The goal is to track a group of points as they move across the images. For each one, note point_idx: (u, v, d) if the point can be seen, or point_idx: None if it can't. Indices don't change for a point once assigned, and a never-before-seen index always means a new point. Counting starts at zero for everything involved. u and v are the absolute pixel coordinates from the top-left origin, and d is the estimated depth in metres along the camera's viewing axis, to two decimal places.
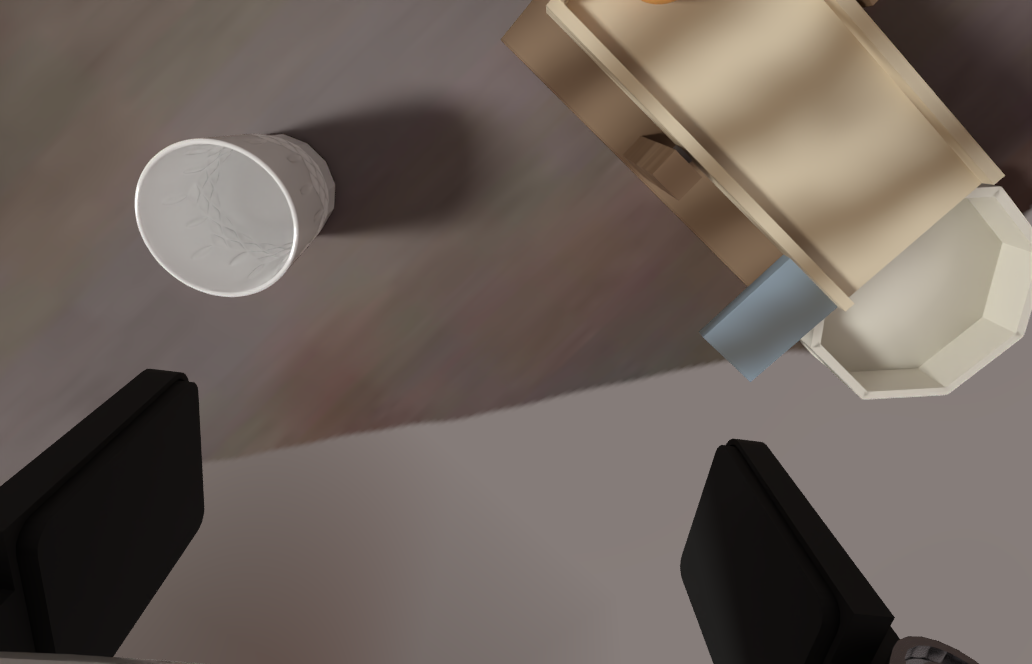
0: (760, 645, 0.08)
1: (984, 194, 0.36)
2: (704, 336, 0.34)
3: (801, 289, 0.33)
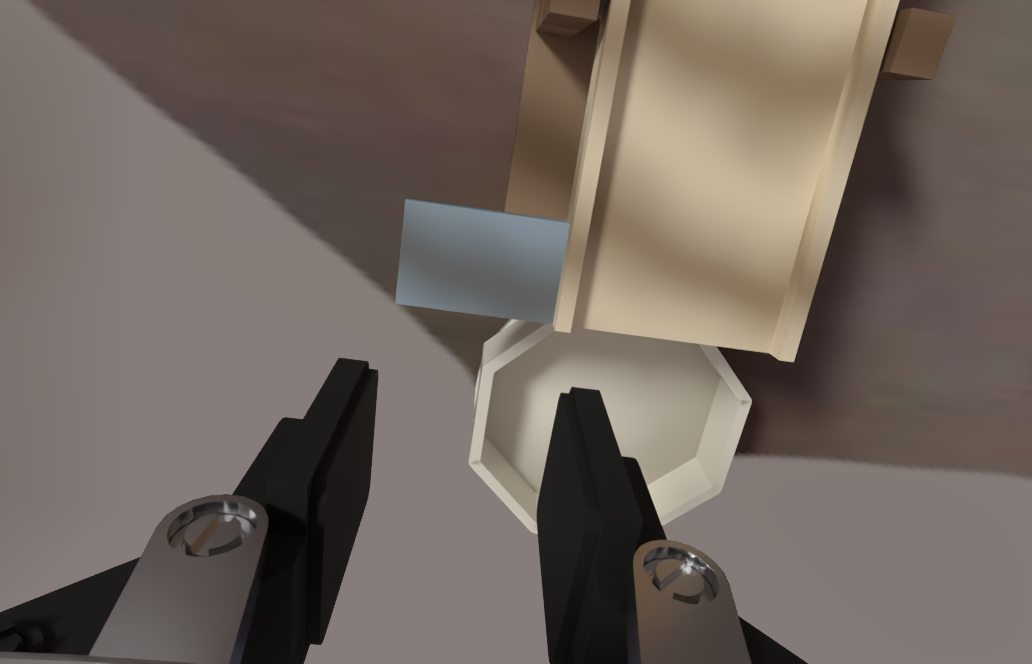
0: (561, 562, 0.09)
1: (736, 392, 0.31)
2: (407, 200, 0.22)
3: (544, 266, 0.23)
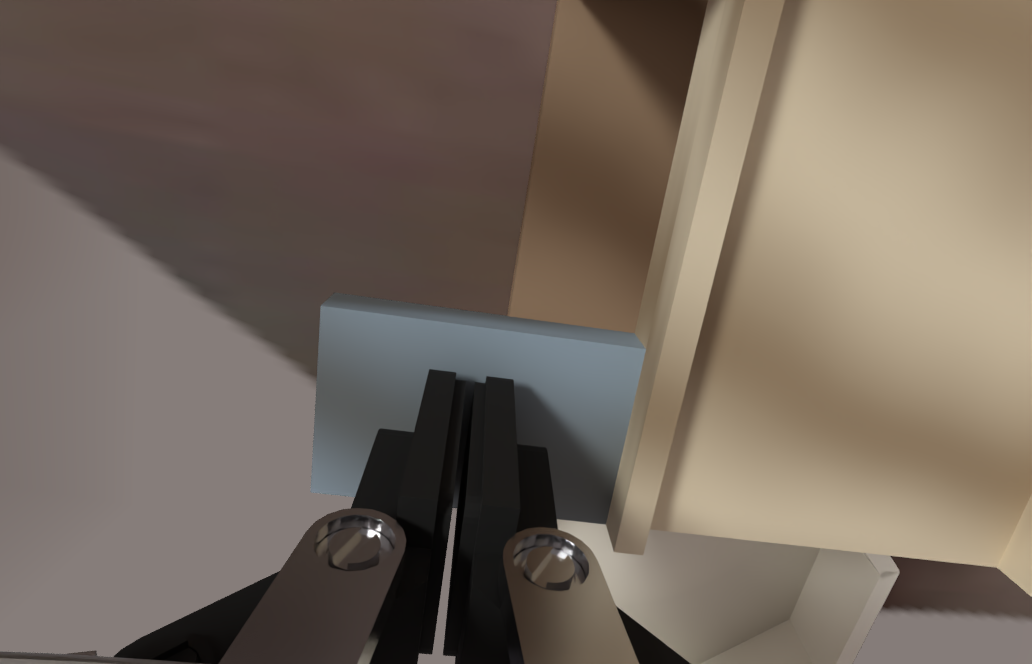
0: (455, 551, 0.09)
1: (877, 561, 0.20)
2: (325, 307, 0.11)
3: (593, 426, 0.12)
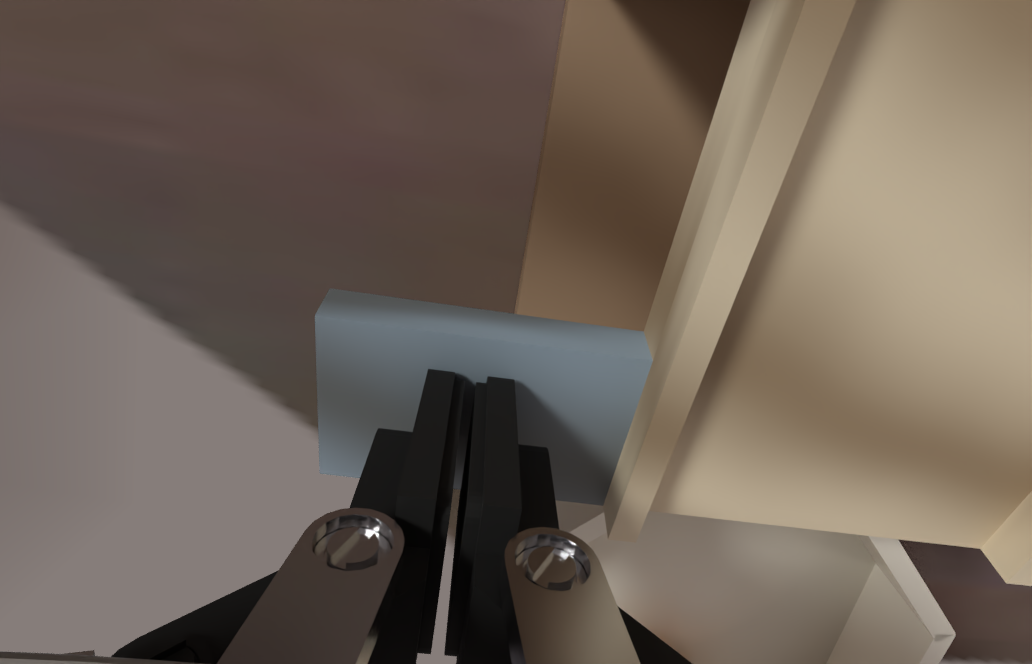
0: (457, 551, 0.09)
1: (931, 623, 0.17)
2: (320, 316, 0.11)
3: (595, 426, 0.12)
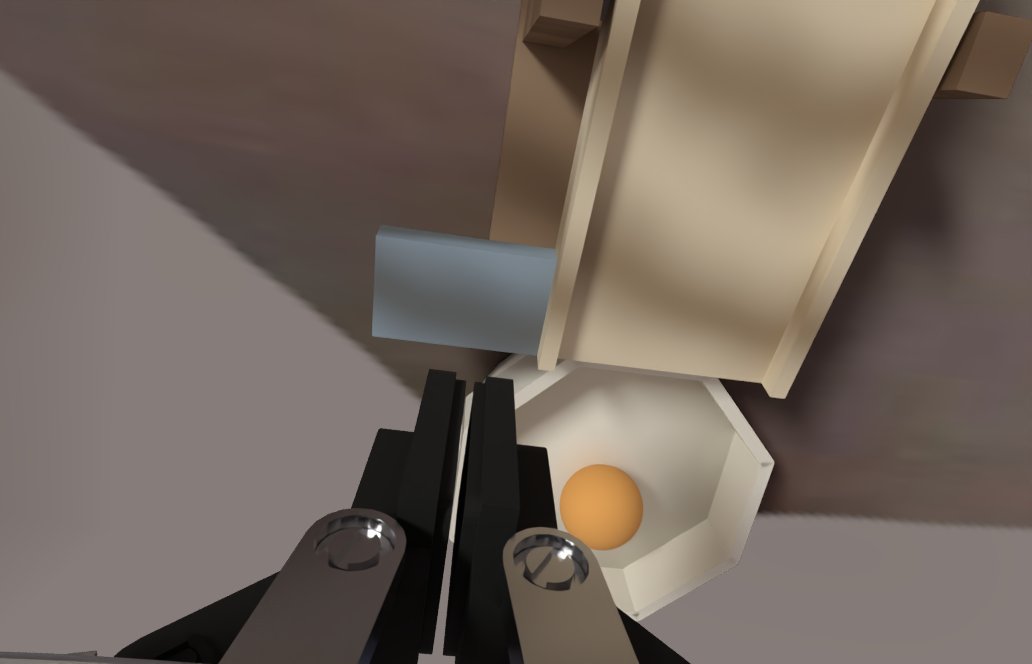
0: (455, 551, 0.09)
1: (757, 453, 0.27)
2: (378, 236, 0.20)
3: (528, 302, 0.22)
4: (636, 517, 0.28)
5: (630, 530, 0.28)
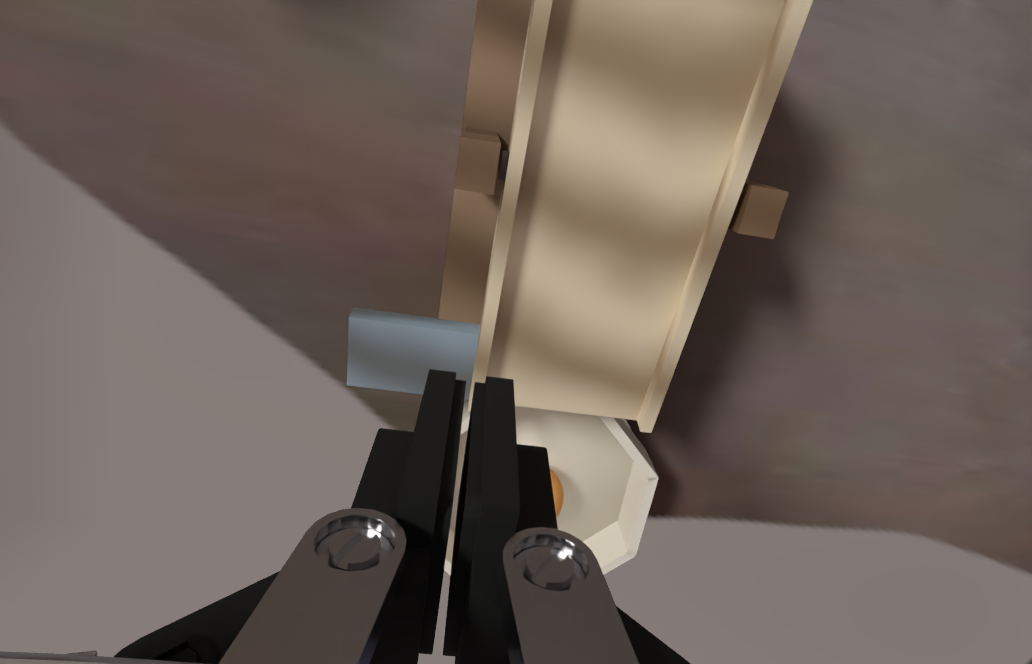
0: (455, 551, 0.09)
1: (644, 471, 0.35)
2: (350, 317, 0.28)
3: (460, 362, 0.30)
4: (557, 491, 0.36)
5: None
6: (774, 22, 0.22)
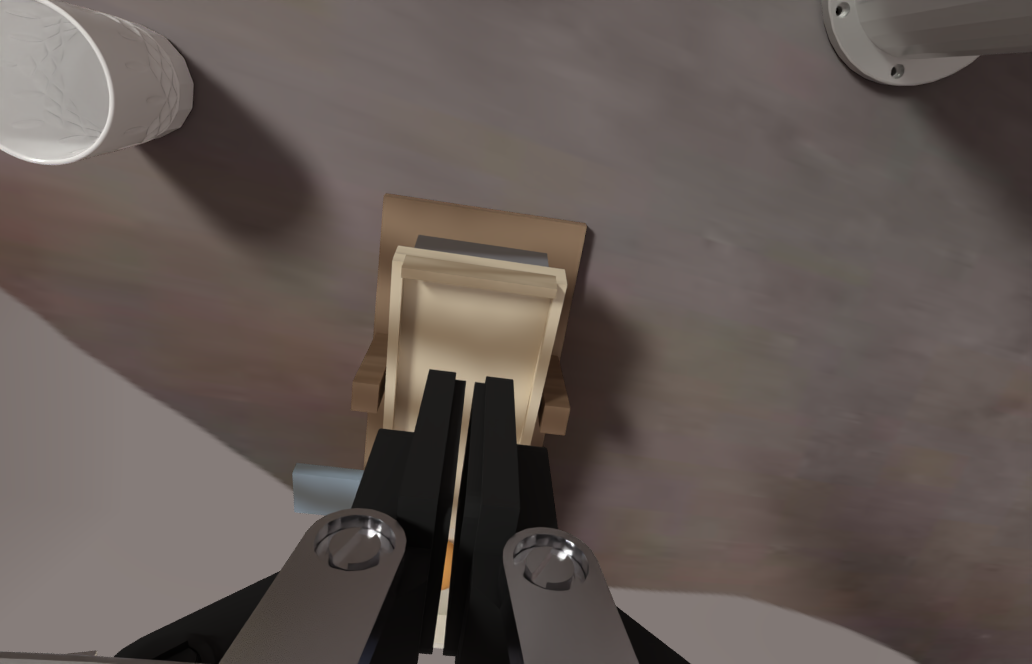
0: (455, 552, 0.09)
1: None
2: (293, 473, 0.42)
3: None
4: None
5: None
6: (544, 318, 0.35)
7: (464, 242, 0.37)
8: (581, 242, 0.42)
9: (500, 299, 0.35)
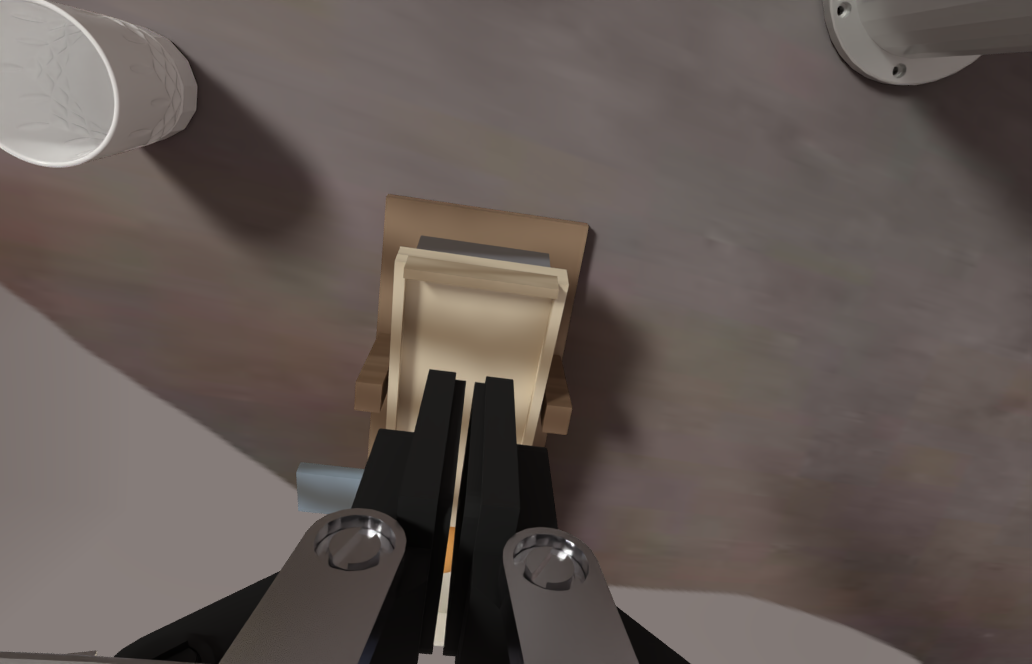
0: (455, 552, 0.09)
1: None
2: (297, 472, 0.42)
3: None
4: None
5: None
6: (546, 318, 0.36)
7: (466, 243, 0.37)
8: (583, 242, 0.42)
9: (502, 300, 0.35)
